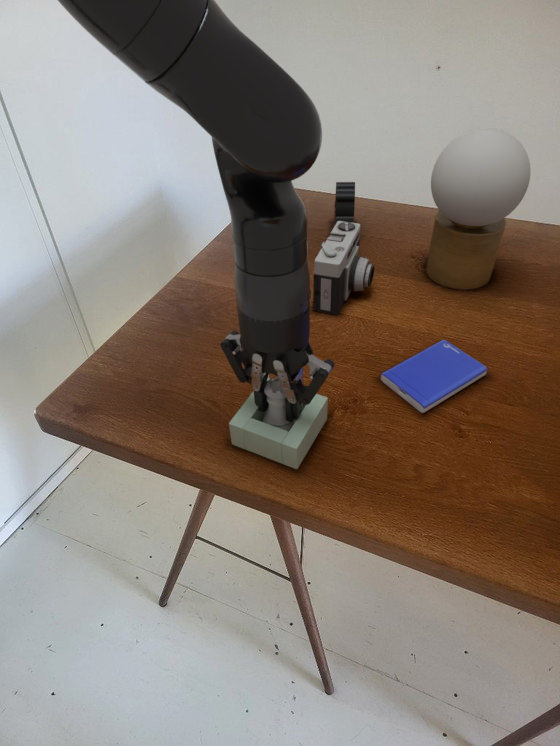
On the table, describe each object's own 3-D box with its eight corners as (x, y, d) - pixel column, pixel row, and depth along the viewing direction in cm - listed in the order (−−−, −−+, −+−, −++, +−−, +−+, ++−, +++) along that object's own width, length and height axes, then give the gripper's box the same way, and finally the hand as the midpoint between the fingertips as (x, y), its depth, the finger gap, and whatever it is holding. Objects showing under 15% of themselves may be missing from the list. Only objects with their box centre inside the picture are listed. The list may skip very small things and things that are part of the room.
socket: (231, 444, 66) (228, 423, 63) (266, 397, 72) (264, 376, 69) (297, 470, 62) (296, 448, 60) (327, 418, 68) (328, 397, 66)
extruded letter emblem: (352, 260, 97) (356, 203, 90) (334, 260, 98) (336, 203, 90) (350, 216, 110) (353, 163, 103) (334, 216, 111) (336, 164, 103)
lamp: (494, 309, 84) (541, 152, 67) (407, 294, 89) (431, 142, 72) (502, 263, 95) (544, 116, 78) (424, 251, 99) (448, 109, 82)
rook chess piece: (264, 414, 68) (261, 369, 63) (298, 416, 68) (297, 371, 63) (260, 440, 65) (256, 396, 60) (295, 442, 65) (294, 397, 59)
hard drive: (443, 338, 77) (381, 372, 72) (488, 367, 72) (424, 406, 67) (441, 346, 78) (380, 380, 73) (485, 375, 73) (423, 414, 68)
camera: (359, 320, 84) (364, 266, 77) (311, 311, 86) (311, 257, 79) (378, 275, 93) (384, 223, 86) (334, 268, 96) (336, 217, 89)
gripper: (194, 299, 53) (214, 414, 65) (321, 335, 48) (318, 453, 60) (232, 264, 58) (244, 377, 69) (351, 293, 53) (343, 410, 64)
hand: (278, 411), depth 64 cm, fingers closed on rook chess piece, 3 cm apart
